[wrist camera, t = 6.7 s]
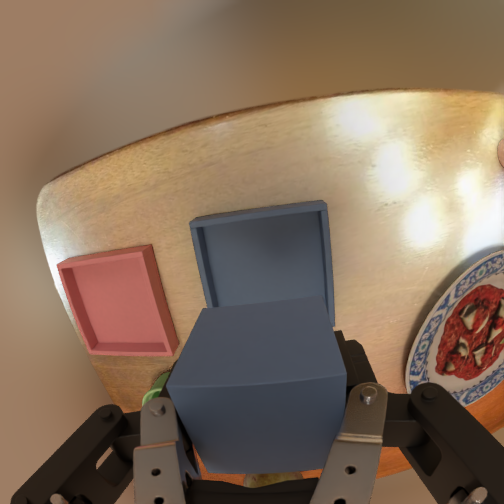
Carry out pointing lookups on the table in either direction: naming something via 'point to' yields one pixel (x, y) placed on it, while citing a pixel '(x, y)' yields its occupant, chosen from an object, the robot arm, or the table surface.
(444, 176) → the table surface
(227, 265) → the blue tray
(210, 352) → the block
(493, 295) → the ceramic plate
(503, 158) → the smoothie
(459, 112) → the table surface
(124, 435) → the robot arm
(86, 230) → the table surface
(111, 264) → the rose tray
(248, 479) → the fruit
